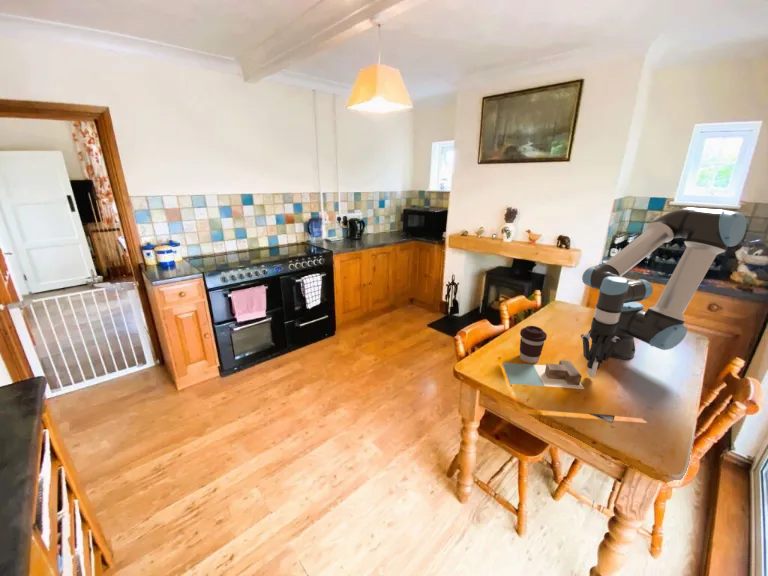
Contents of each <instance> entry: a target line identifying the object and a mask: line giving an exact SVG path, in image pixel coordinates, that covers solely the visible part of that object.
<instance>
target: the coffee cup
mask: <svg viewBox="0 0 768 576" xmlns="http://www.w3.org/2000/svg"><path fill="white" fill-rule="evenodd" d="M519 334H520V336H521V337H520V342H519V359H520V360H521V361H523V362H525V363H527V364H528V363H529V364H537V363H538V362H539V359H540V356H541V355H542V351H543V348H544V344H545V341H546V340H547V336H548V335H547V333H546V332H545V331H544V330H543V329H542V328H541V327H539V326H536V325H528V326H525V327H522V328H521V329H520V332H519Z"/></svg>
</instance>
